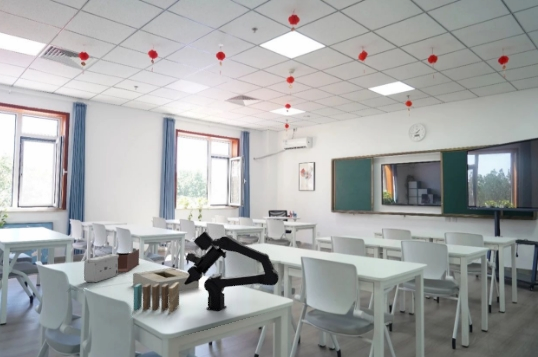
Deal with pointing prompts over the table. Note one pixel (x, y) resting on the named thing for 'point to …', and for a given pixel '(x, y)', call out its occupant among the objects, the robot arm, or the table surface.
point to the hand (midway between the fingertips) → (185, 284)
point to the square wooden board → (173, 297)
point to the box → (164, 278)
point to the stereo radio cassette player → (100, 267)
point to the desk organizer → (127, 261)
